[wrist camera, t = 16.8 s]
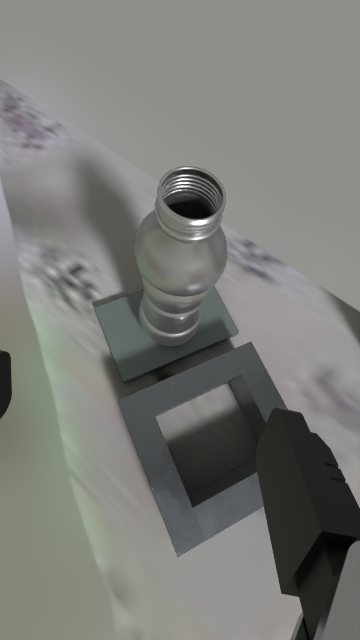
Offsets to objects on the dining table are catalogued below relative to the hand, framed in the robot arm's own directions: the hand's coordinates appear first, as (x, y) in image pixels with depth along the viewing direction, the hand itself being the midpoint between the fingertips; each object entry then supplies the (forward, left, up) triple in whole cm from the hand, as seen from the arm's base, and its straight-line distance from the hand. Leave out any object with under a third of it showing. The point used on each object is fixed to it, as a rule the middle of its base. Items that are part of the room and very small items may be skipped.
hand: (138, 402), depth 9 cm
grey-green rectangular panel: (-7, -9, -24) cm, 26 cm away
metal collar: (-6, +4, -24) cm, 25 cm away
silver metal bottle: (-7, -9, -23) cm, 26 cm away
